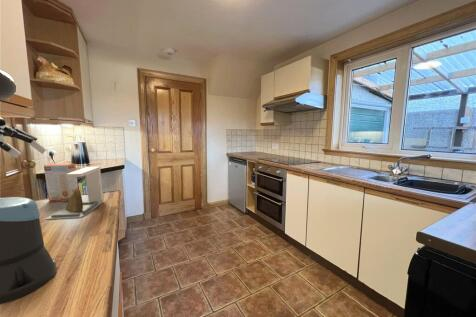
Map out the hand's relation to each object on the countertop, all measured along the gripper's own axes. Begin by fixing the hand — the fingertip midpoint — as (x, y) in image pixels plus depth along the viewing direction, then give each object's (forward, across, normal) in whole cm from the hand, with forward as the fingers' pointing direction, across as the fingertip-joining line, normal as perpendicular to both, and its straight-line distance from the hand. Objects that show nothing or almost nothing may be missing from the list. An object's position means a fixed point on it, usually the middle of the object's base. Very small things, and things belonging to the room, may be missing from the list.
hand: (32, 153), depth 92 cm
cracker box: (+18, -22, -24) cm, 37 cm away
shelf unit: (+30, -5, -12) cm, 32 cm away
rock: (+29, -3, -12) cm, 32 cm away
